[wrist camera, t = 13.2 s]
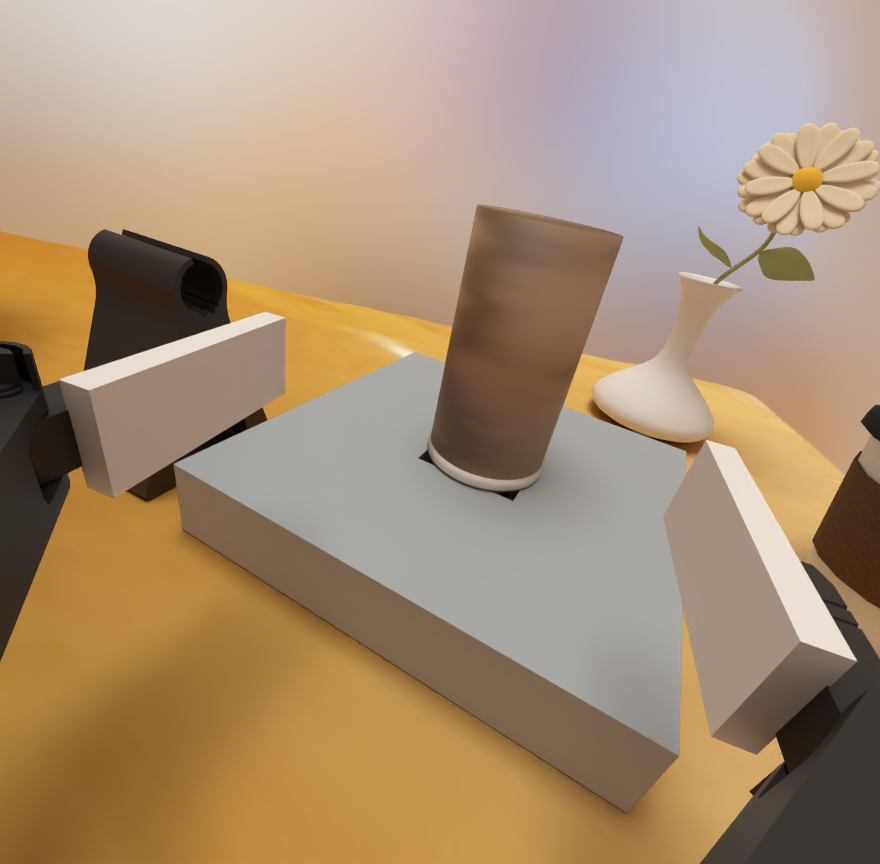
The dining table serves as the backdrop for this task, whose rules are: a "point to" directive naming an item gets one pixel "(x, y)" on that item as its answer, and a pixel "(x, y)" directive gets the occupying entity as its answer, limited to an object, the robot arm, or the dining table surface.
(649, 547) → the slate board
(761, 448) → the dining table surface
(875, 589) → the coffee cup
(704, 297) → the flower in vase
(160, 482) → the phone stand
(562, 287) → the walnut peg
